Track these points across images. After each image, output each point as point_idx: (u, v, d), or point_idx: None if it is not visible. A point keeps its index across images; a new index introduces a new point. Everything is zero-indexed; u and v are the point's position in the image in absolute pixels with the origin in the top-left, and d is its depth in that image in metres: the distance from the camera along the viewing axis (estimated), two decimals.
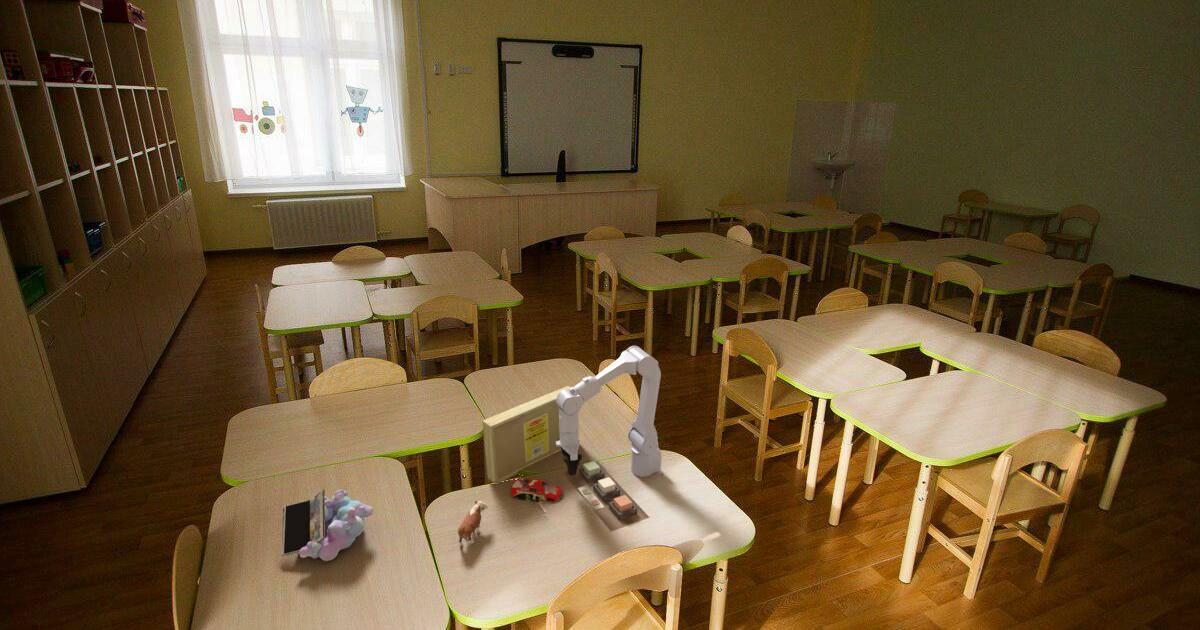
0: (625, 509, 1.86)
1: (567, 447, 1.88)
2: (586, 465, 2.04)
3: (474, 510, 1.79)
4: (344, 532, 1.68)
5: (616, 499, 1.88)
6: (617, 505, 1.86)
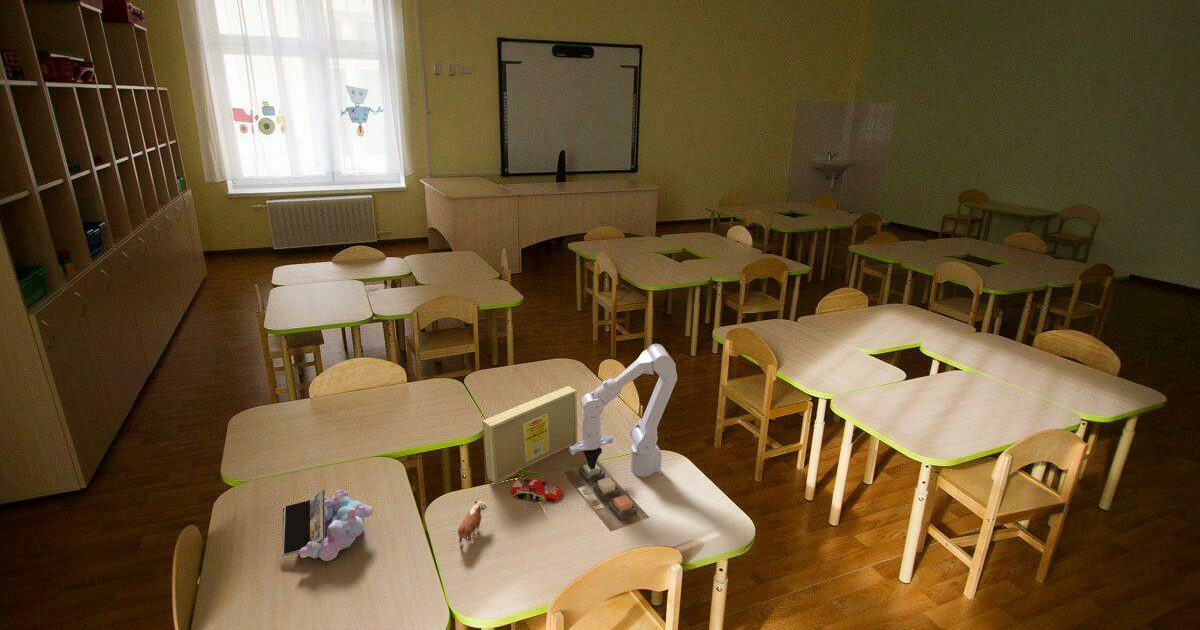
0: (625, 509, 1.86)
1: (581, 443, 2.00)
2: (586, 466, 2.04)
3: (474, 510, 1.79)
4: (344, 532, 1.68)
5: (616, 499, 1.88)
6: (617, 505, 1.86)
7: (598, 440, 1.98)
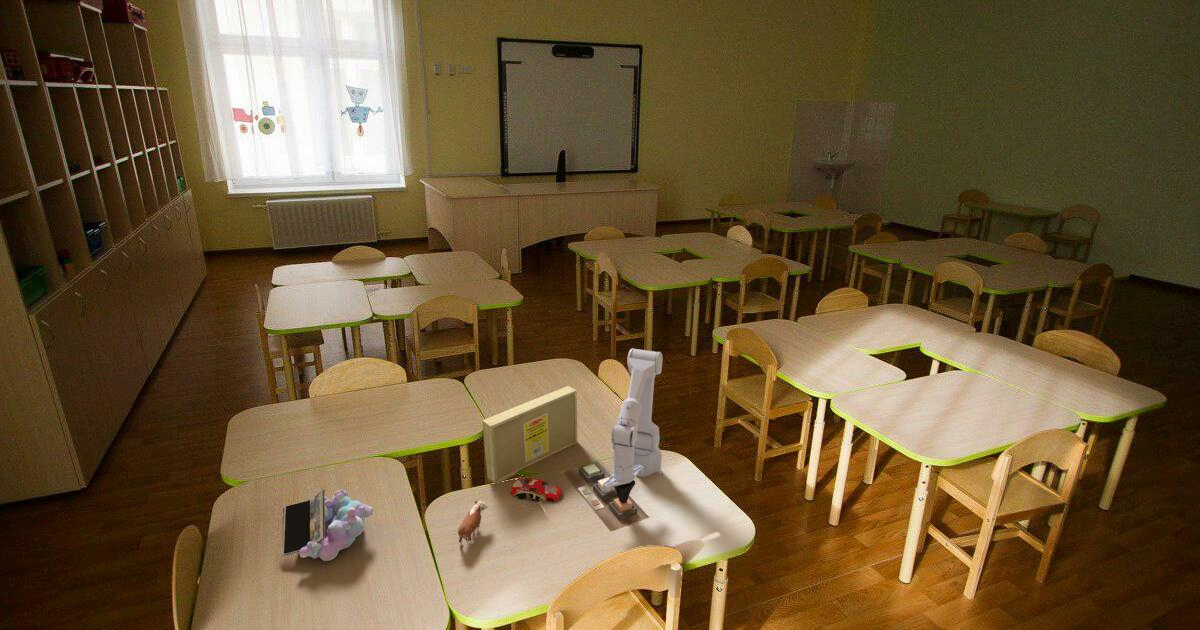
0: (625, 510, 1.86)
1: (613, 477, 1.83)
2: (586, 468, 2.04)
3: (474, 510, 1.79)
4: (344, 532, 1.68)
5: (616, 500, 1.88)
6: (617, 506, 1.86)
7: (632, 472, 1.82)
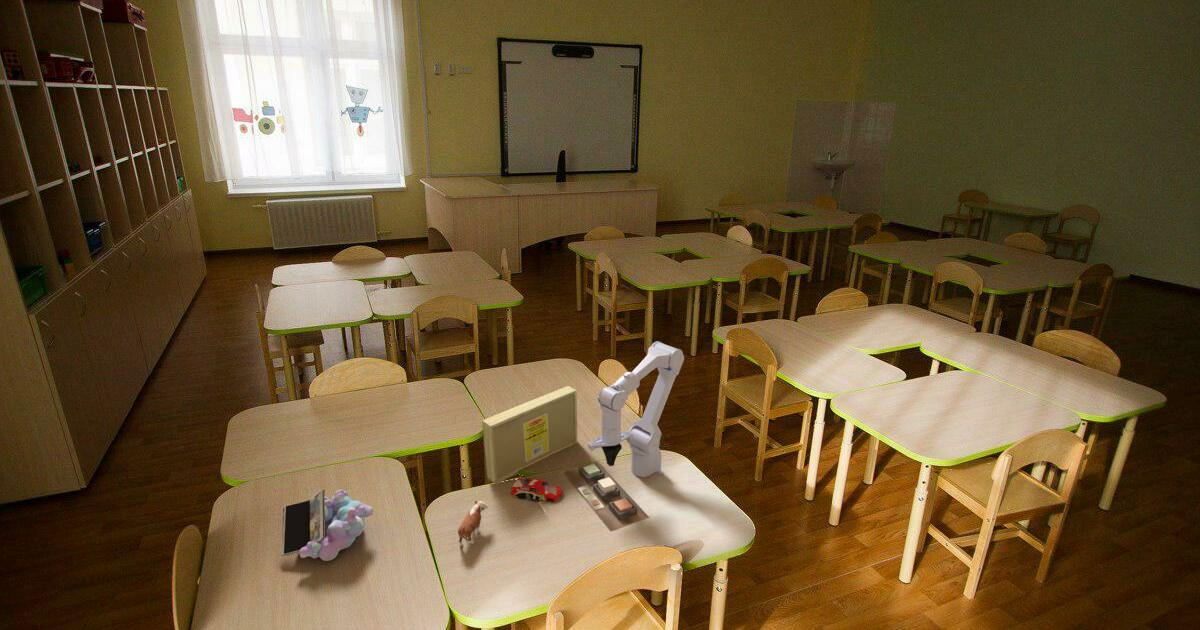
0: None
1: (600, 439, 1.91)
2: (586, 468, 2.04)
3: (474, 510, 1.79)
4: (344, 532, 1.68)
5: (616, 502, 1.88)
6: (617, 508, 1.87)
7: (618, 436, 1.89)
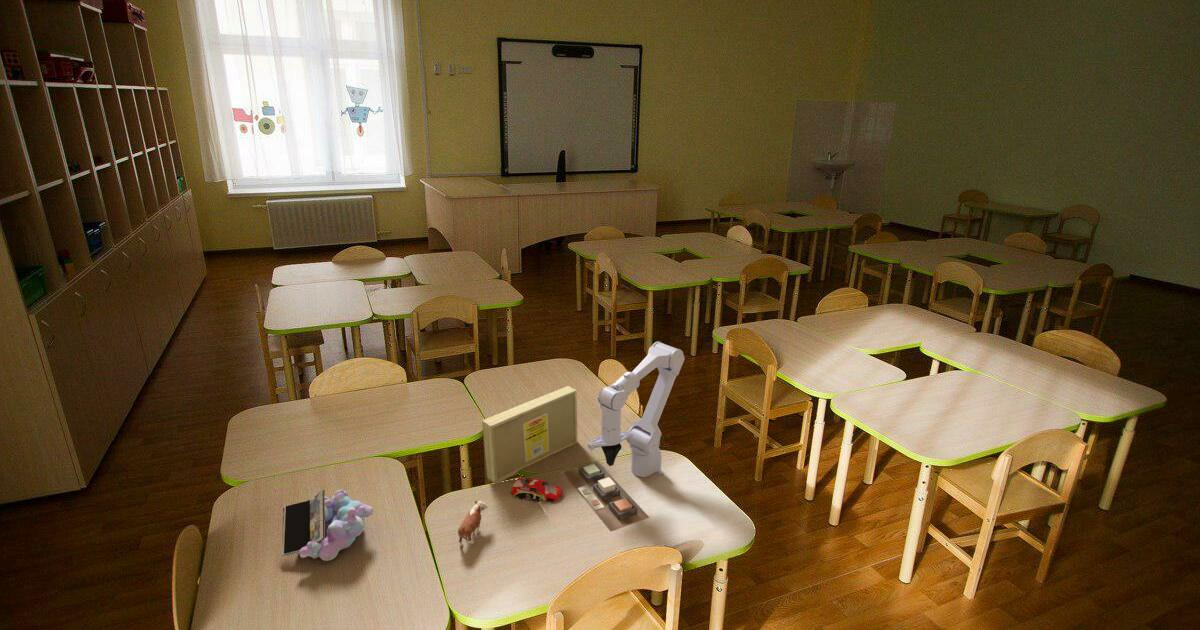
0: None
1: (600, 439, 1.91)
2: (586, 468, 2.04)
3: (474, 510, 1.79)
4: (344, 532, 1.68)
5: (616, 502, 1.88)
6: (617, 508, 1.87)
7: (618, 435, 1.89)
